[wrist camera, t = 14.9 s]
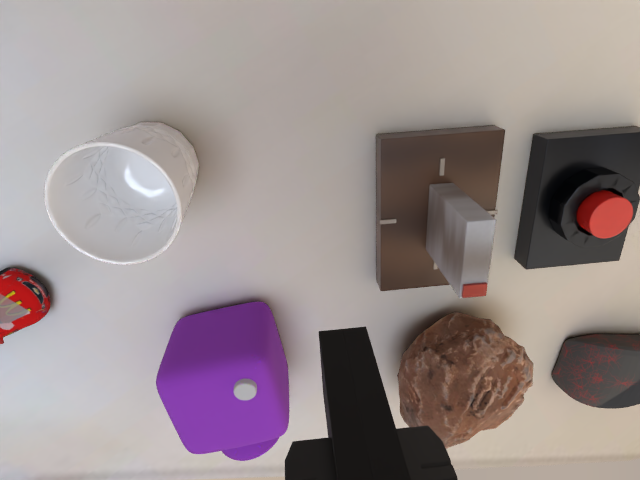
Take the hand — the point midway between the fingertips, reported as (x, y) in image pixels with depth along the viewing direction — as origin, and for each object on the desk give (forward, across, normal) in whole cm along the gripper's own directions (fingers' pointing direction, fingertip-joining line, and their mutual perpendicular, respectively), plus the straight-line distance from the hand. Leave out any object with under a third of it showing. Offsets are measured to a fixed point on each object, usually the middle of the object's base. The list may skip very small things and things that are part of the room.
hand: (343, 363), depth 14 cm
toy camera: (+25, -8, -19) cm, 32 cm away
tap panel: (+24, +11, -5) cm, 27 cm away
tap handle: (+22, +11, -5) cm, 25 cm away
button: (+21, +24, -5) cm, 32 cm away
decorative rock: (+25, +13, -21) cm, 35 cm away
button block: (+24, +24, -5) cm, 35 cm away
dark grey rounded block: (+25, +33, -25) cm, 48 cm away
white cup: (+25, -12, +1) cm, 27 cm away
